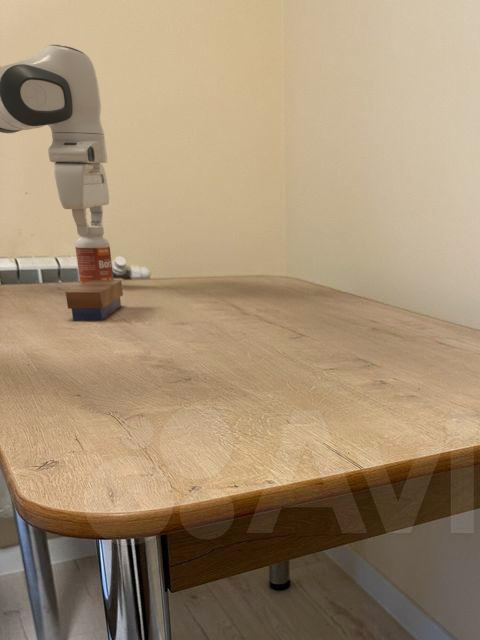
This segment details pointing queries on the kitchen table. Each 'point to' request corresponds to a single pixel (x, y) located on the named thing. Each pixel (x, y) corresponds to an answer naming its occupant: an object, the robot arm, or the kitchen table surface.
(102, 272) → the pill bottle
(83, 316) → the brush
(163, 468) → the kitchen table surface
